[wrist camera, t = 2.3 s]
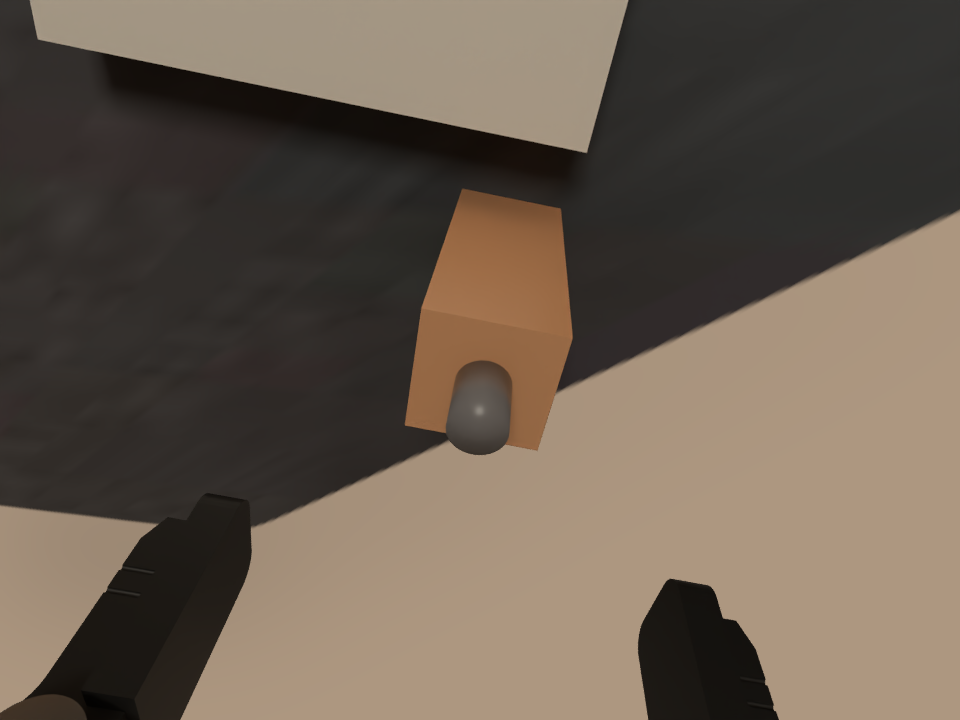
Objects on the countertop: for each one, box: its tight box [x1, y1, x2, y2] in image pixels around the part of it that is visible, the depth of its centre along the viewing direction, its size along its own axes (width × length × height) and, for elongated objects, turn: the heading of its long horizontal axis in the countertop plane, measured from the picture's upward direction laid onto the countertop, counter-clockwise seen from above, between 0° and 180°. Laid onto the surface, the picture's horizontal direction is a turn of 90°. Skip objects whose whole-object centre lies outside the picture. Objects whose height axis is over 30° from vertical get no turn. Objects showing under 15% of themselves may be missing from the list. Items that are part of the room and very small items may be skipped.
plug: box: [405, 189, 573, 455], centre depth 20 cm, size 4×4×12 cm
